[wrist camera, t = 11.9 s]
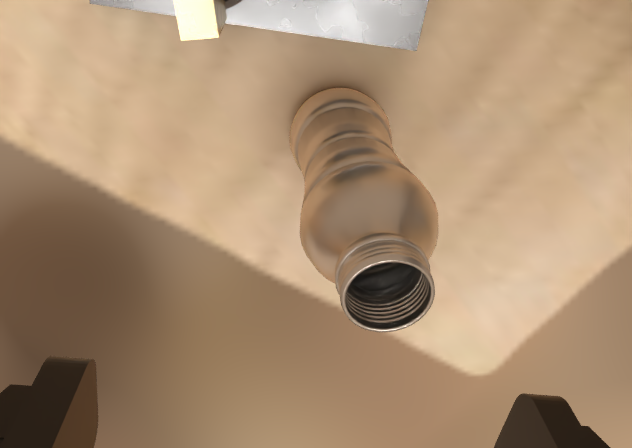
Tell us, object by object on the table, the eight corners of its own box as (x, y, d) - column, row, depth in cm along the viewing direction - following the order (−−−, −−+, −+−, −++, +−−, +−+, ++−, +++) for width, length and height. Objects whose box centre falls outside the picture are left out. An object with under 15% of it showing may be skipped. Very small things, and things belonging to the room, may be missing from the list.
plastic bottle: (285, 81, 37) (296, 230, 20) (385, 76, 37) (483, 219, 20) (291, 169, 40) (303, 365, 23) (383, 164, 41) (465, 353, 23)
